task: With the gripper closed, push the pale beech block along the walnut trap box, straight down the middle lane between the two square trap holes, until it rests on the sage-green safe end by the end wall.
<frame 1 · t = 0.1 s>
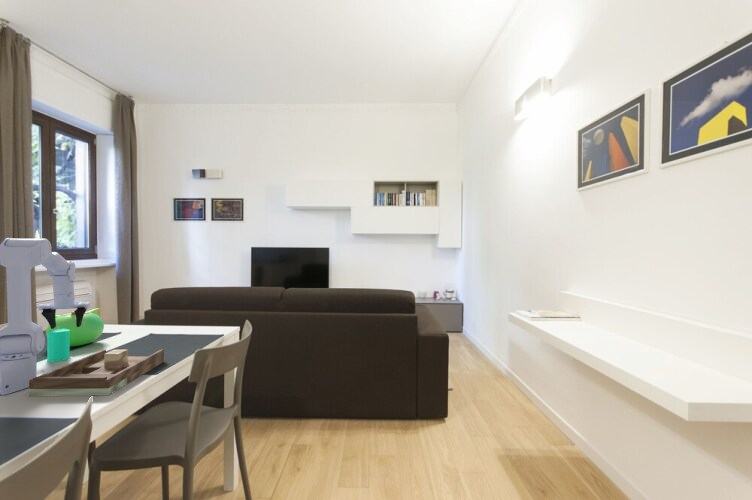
hand: (66, 326, 131), 11 cm above the table, tool pointing down, fingers open, 7 cm apart
candle: (58, 359, 126), on the table
beech block: (116, 365, 115), point 2 cm above the table, touching trap box
trap box: (105, 376, 110), on the table
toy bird: (76, 345, 143), on the table
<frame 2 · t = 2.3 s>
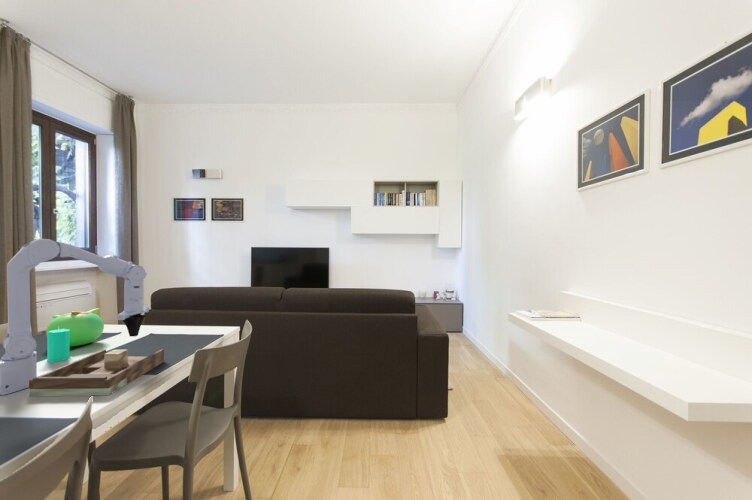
hand: (133, 335, 124), 9 cm above the table, tool pointing down, fingers closed
nothing on the table moved.
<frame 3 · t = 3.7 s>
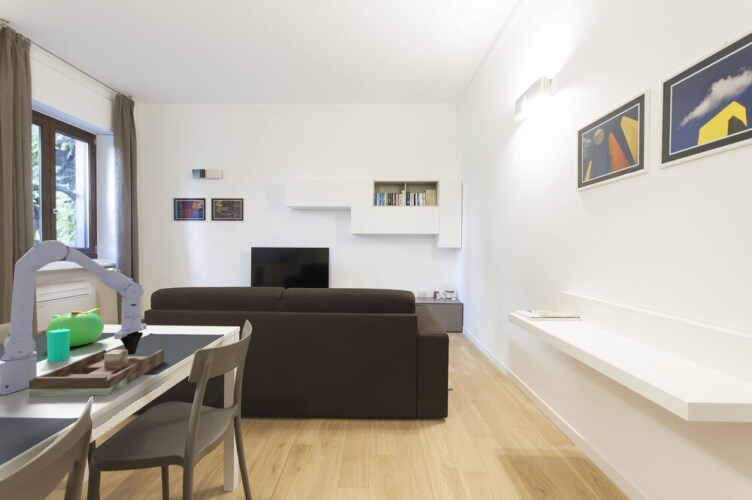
hand: (131, 354, 123), 3 cm above the table, tool pointing down, fingers closed
nothing on the table moved.
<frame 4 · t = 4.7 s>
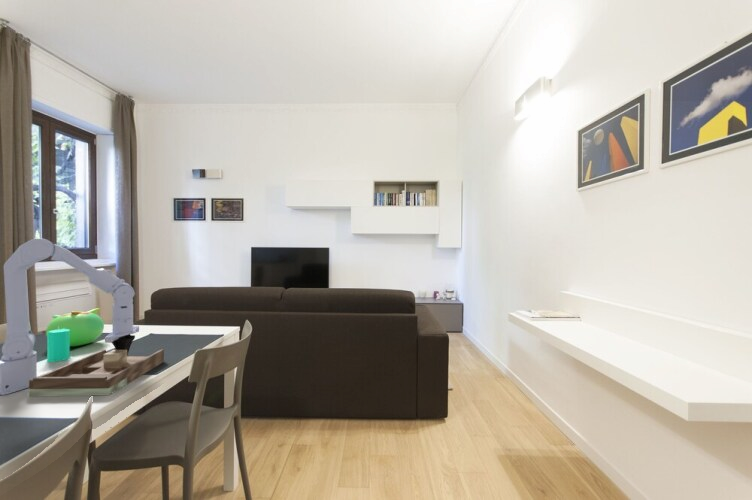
hand: (122, 357, 118), 3 cm above the table, tool pointing down, fingers closed
beech block: (115, 365, 114), point 2 cm above the table, touching gripper, trap box
everything else where it was.
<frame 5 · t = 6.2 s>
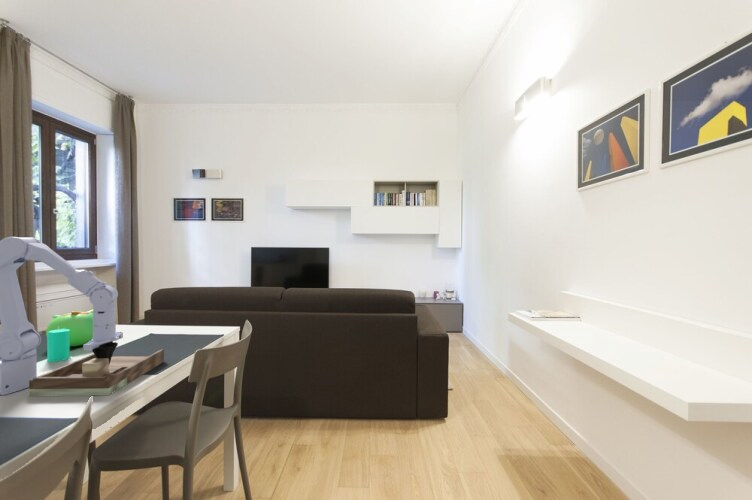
hand: (104, 366, 109), 3 cm above the table, tool pointing down, fingers closed
beech block: (95, 375, 106), point 2 cm above the table, touching gripper
everything else where it was.
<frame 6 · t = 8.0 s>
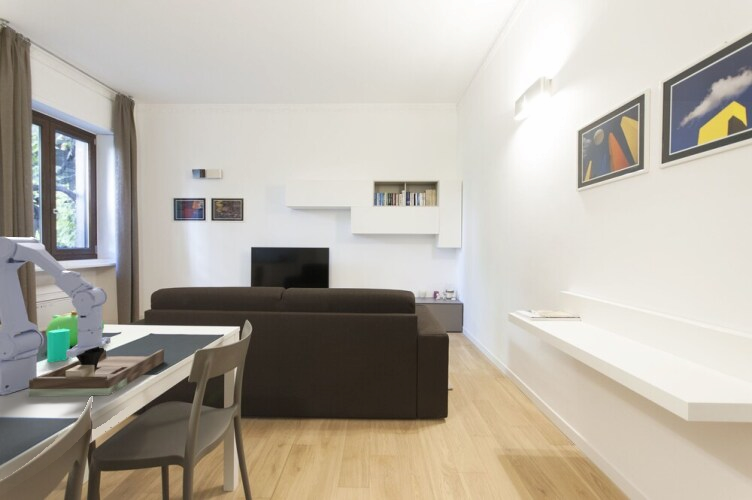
hand: (89, 373, 103), 3 cm above the table, tool pointing down, fingers closed
beech block: (80, 383, 100), point 2 cm above the table, touching gripper, trap box
everything else where it was.
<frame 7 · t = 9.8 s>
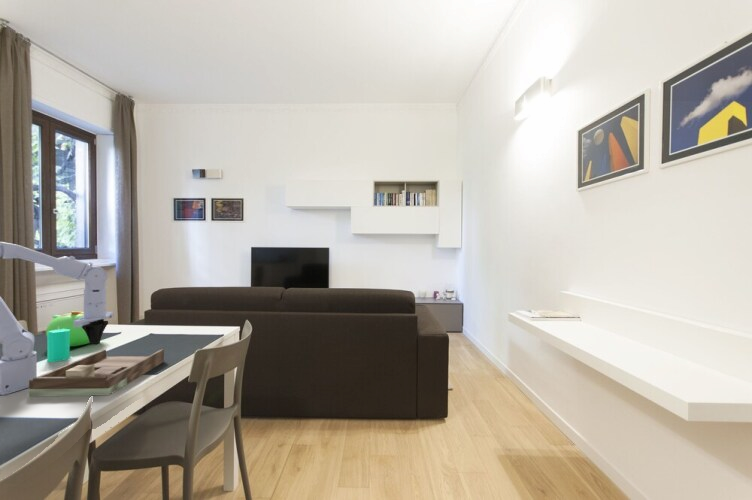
hand: (94, 344, 113), 9 cm above the table, tool pointing down, fingers closed
beech block: (80, 383, 100), point 2 cm above the table, touching trap box
everything else where it was.
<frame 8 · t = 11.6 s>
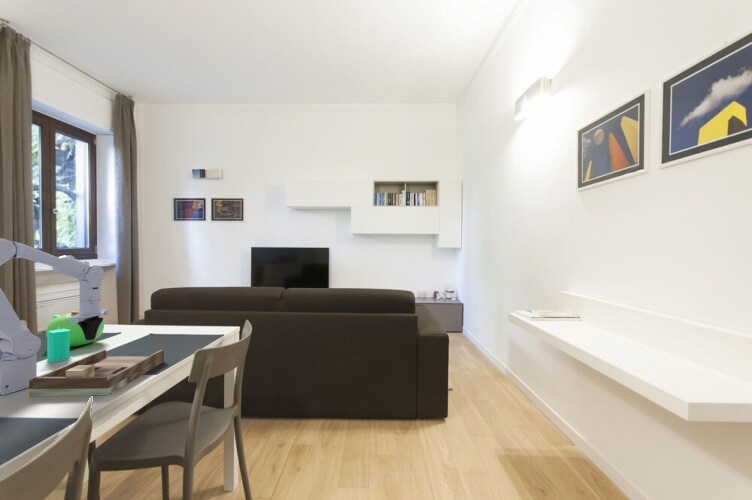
hand: (90, 339, 118), 9 cm above the table, tool pointing down, fingers closed
nothing on the table moved.
at the end: beech block inside the target area (0.6 cm from its centre), point 2.0 cm above the table; beech block tilted 0°; the gripper is holding nothing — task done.
